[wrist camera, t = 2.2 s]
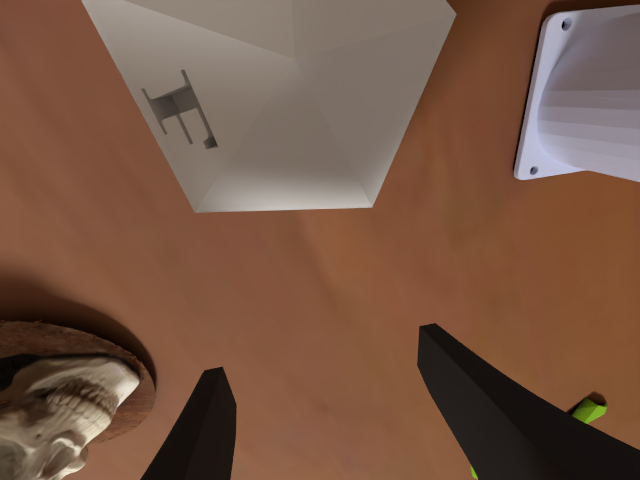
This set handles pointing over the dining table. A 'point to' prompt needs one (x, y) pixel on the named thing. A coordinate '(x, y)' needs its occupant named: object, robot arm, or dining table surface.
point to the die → (275, 92)
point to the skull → (63, 398)
